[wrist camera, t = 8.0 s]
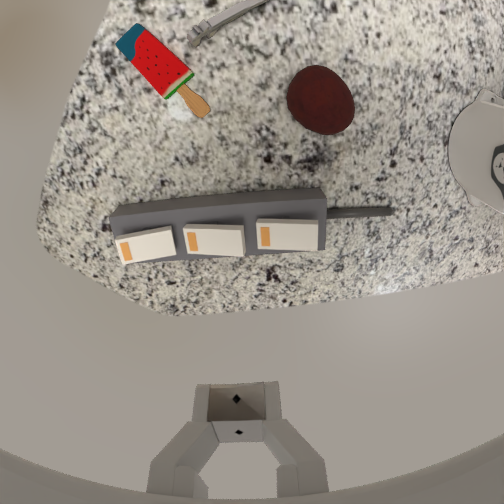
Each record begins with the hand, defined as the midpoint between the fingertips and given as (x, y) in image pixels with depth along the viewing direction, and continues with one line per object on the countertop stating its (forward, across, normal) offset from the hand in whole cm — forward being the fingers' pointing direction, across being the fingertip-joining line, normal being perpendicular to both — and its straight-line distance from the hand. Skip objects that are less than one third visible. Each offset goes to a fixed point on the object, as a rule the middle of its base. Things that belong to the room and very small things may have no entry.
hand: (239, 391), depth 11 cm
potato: (+31, -9, -8) cm, 34 cm away
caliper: (+32, -4, -21) cm, 38 cm away
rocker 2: (+25, +4, +7) cm, 27 cm away
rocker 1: (+25, +12, +7) cm, 29 cm away
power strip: (+31, -1, +7) cm, 32 cm away
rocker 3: (+25, -5, +7) cm, 27 cm away
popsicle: (+32, +8, -13) cm, 35 cm away
